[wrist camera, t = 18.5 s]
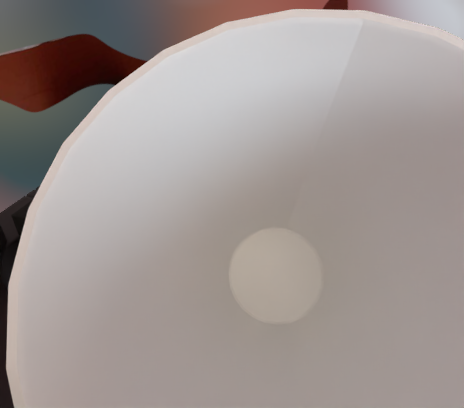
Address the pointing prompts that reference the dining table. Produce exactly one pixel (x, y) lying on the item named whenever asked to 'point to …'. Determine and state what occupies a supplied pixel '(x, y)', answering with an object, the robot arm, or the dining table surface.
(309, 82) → the cup
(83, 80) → the dining table surface
